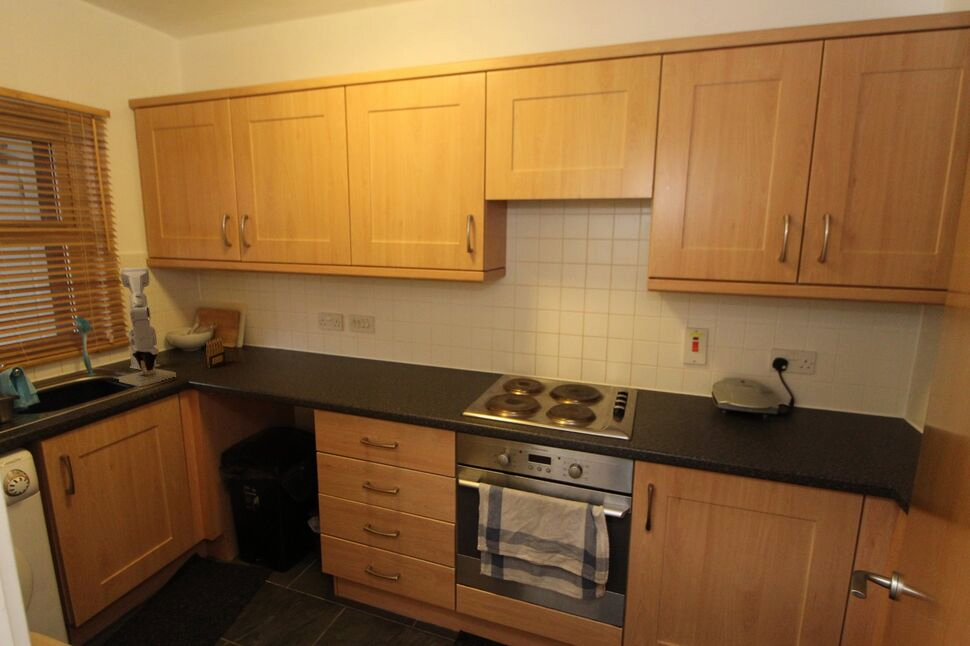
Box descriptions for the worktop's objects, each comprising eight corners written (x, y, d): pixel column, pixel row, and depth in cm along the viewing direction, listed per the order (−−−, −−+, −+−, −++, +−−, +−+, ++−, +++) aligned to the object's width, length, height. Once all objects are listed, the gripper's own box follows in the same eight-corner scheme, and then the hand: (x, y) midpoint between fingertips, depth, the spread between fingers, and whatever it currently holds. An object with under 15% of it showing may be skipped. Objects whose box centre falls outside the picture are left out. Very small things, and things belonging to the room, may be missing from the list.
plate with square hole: (119, 381, 199) (118, 377, 199) (154, 372, 212) (154, 368, 211) (141, 386, 193) (140, 381, 193) (176, 377, 206) (175, 372, 205)
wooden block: (142, 373, 202) (140, 360, 201) (150, 371, 204) (148, 358, 203) (147, 374, 200) (145, 361, 199) (155, 372, 203) (153, 359, 202)
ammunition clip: (222, 361, 230) (219, 336, 228) (226, 362, 230) (223, 336, 227) (206, 368, 219) (203, 341, 217) (210, 368, 219) (207, 341, 217)
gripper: (121, 337, 199) (125, 369, 201) (144, 340, 193) (148, 374, 195) (139, 333, 205) (143, 365, 207) (162, 337, 199) (166, 369, 201)
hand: (147, 369), depth 202 cm, fingers closed on wooden block, 3 cm apart
